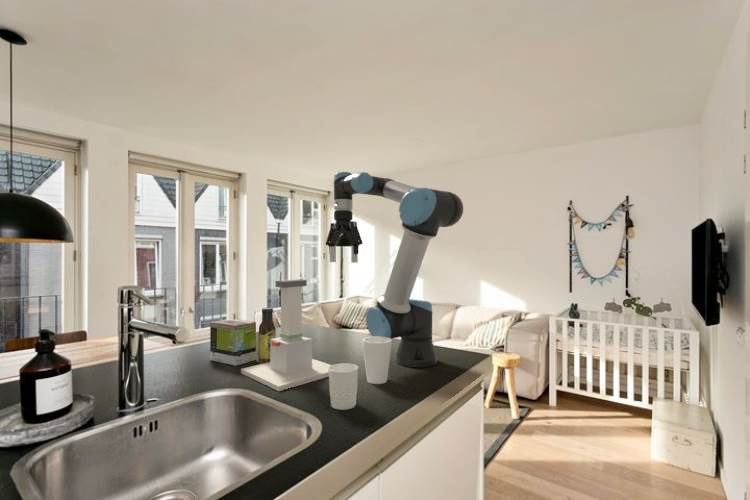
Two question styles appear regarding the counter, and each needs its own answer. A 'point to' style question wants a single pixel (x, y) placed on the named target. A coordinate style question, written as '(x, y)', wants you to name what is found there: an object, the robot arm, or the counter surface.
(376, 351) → the foam cup
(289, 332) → the post
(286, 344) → the post stand
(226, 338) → the tea box
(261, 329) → the sauce bottle
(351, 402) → the white cup
